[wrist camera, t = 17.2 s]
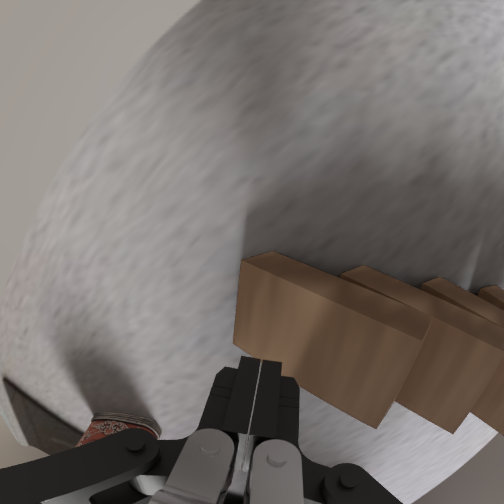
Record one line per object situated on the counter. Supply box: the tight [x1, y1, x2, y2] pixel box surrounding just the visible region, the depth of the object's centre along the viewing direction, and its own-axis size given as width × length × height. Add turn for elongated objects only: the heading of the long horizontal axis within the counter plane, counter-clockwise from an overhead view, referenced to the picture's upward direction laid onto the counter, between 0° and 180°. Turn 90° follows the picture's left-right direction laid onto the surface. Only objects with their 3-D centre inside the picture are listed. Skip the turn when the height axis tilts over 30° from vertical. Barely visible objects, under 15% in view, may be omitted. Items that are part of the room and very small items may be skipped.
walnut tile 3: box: [420, 277, 504, 436], centre depth 12 cm, size 2×5×9 cm
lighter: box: [76, 412, 162, 447], centre depth 19 cm, size 8×3×10 cm, turn 106°
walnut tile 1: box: [233, 251, 434, 429], centre depth 14 cm, size 2×5×9 cm
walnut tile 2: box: [340, 265, 504, 434], centre depth 13 cm, size 2×5×9 cm
